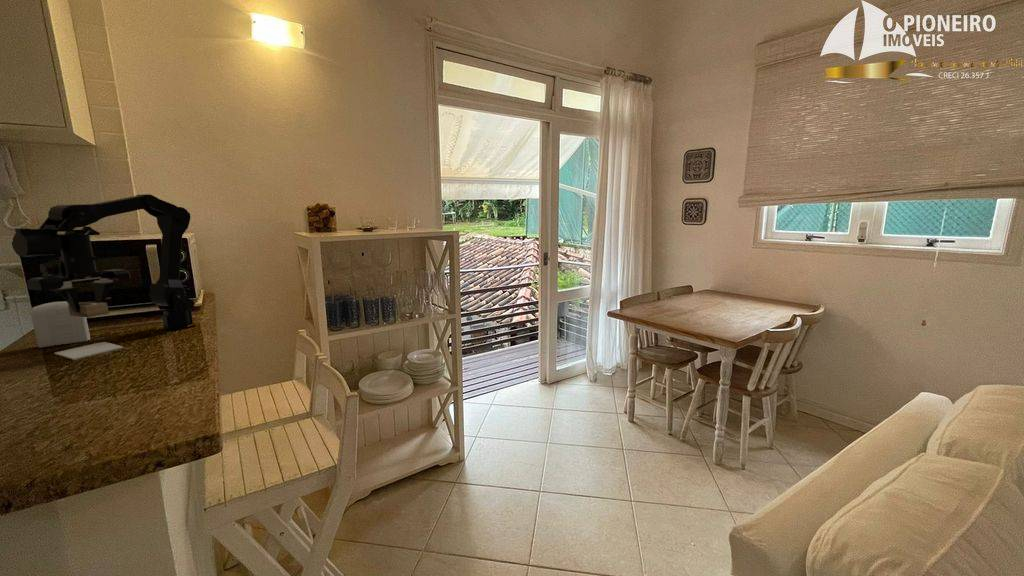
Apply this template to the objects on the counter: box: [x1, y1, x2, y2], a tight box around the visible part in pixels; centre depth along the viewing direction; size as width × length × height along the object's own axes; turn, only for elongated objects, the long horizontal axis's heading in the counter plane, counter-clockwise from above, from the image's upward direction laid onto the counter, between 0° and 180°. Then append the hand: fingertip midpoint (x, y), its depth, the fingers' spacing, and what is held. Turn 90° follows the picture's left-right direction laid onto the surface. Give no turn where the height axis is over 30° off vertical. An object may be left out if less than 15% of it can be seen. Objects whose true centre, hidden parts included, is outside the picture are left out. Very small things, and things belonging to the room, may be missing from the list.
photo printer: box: [30, 300, 91, 349], centre depth 114 cm, size 10×4×12 cm, turn 134°
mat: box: [53, 341, 124, 361], centre depth 108 cm, size 10×11×1 cm
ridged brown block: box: [68, 301, 110, 318], centre depth 107 cm, size 7×4×3 cm, turn 75°
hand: (88, 310), depth 108 cm, fingers closed on ridged brown block, 4 cm apart
